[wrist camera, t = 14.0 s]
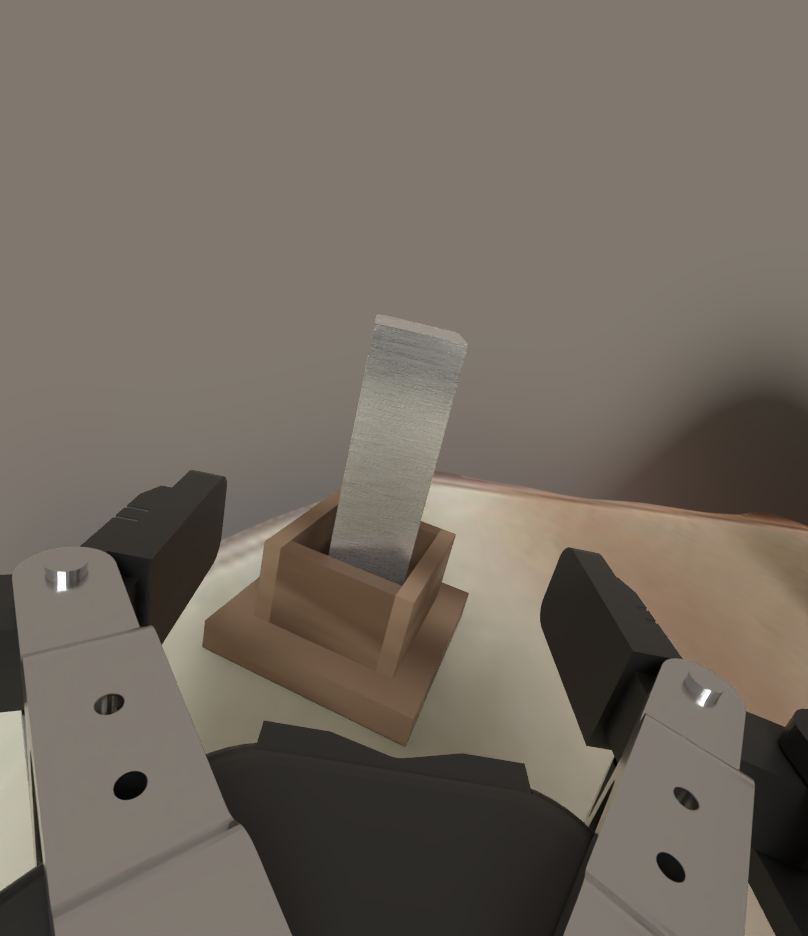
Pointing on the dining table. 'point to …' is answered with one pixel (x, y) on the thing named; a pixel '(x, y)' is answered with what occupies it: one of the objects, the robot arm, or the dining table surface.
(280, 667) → the wooden socket base
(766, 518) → the dining table surface
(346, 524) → the grey rectangular block
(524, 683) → the dining table surface
